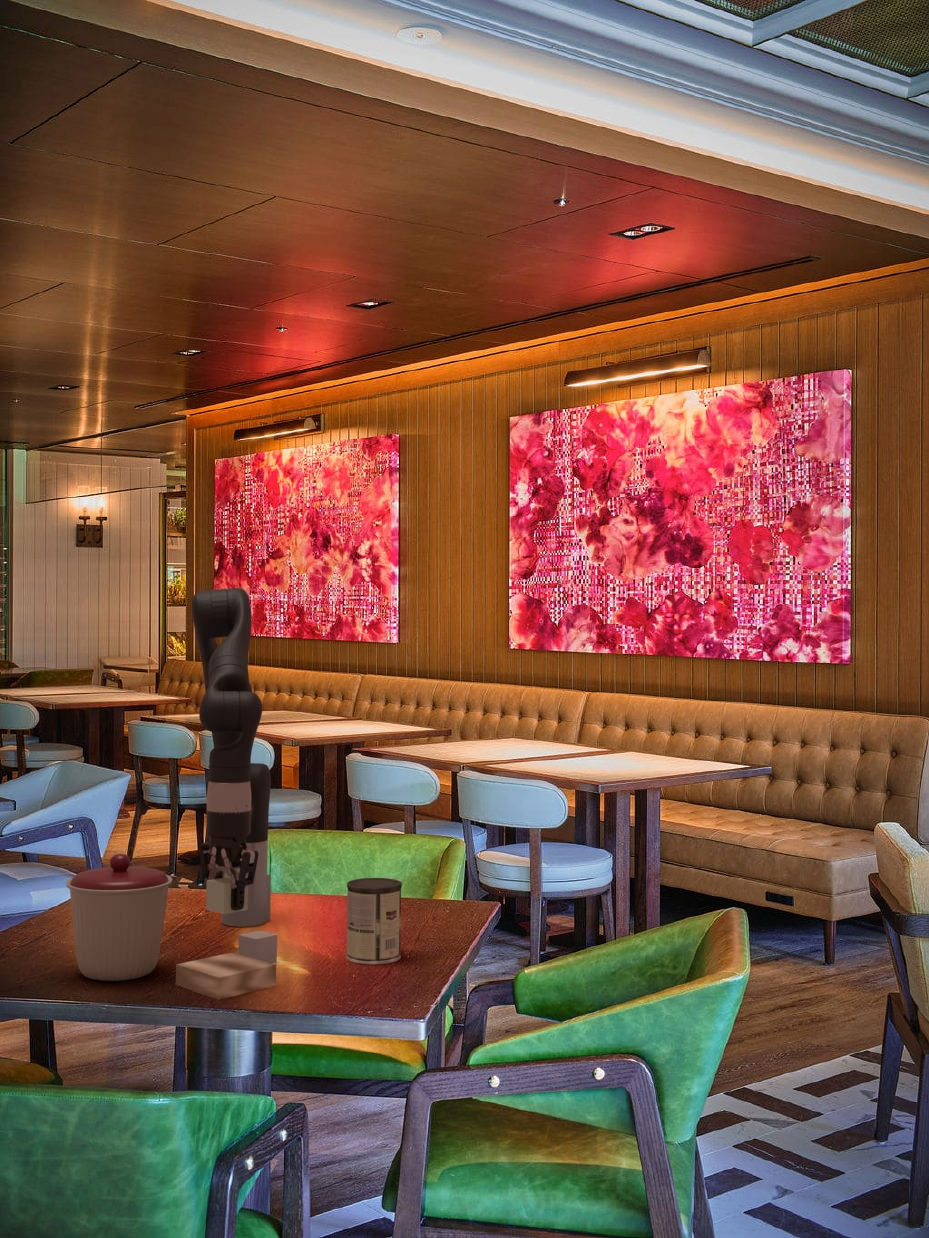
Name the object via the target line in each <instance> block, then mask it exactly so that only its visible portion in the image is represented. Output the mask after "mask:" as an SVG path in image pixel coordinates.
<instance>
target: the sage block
mask: <svg viewBox="0 0 929 1238" xmlns="http://www.w3.org/2000/svg"><path fill="white" fill-rule="evenodd" d="M237 880H238V878H237ZM205 887H206V889H205V891H206V894H205V897H206V899H205V904H206V905H205V910H206V911H210V912H213V913H218V914H221V915H222V914H228V913H233V912H239V911H245V910H248V886H246V887H245V893H244V907H243V909H241V910H236V911H234V910H232V909H231V888H232V886H231V881H230V877H225V878H219V879H212V880H208V879H207V880H206V886H205Z"/></svg>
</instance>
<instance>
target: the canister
mask: <svg viewBox="0 0 929 1238" xmlns="http://www.w3.org/2000/svg"><path fill="white" fill-rule="evenodd" d="M109 865H110V866H107V867H98V868H92V869H87V870H84V871H82V872H79V873H76V875H74V876H73V877H71V878H69V879H68V880H67V881H66V882H65V886H66V888H67V889H69V894H70V897H69V898H70V907H71V917H72V918H71V919H72V929H73V931H72V932H73V940H74V949H75V957H76V963H77V966H78V969H79V972H81V974H82V975H83V976H85V977H86V978H88V979H91V980H95V981H103V982H117V981H118V982H120V981H121V982H122V981H123V982H124V981H129V980H135V979H140V978H142V977H146V976H147V975H149V974H151V973H152V972H153V971H154V969H155V968H156V967H157V964H158V961H159V957H160V952H161V946H162V938H163V933H164V923H165V917H166V909H167V908H166V907H167V901H168V894H169V893H168V892H169V886H170V885H172V883H173V878H172V877H171V876H170V875H167V874H166V873H165V872H164V871H162V870H159V869H157V868H152V867H146V866H145V867H144V866H131V858H130V856H129V855H127V854H124V853H117V854H116V853H115V854H114V855H113V856H111V858H110V860H109Z"/></svg>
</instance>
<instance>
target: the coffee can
mask: <svg viewBox="0 0 929 1238" xmlns="http://www.w3.org/2000/svg"><path fill="white" fill-rule="evenodd" d="M402 886H403V883H402V881H400V880H399V879H398V880H397V879H394V878H388V877H387V878H385V877H364V878H355V879H351V880H349V881H347V883H346V887H347V891H346V893H347V894H346V895H347V896H346V897H347V900H346V901H347V904H346V905H347V908H346V914H347V915H346V918H347V919H346V921H347V922H346V960H347V961H348V962H351V963H352V964H353V963H355V964H359V965H360V964H361V965H371V966H372V965H373V966H374V965H387V964H393V963H396V962H398V961H399V960H401V958H402V957H401V936H402V935H401V932H402V931H401V928H402V927H401V923H402V921H401V920H402V917H401V916H402V888H403V887H402Z"/></svg>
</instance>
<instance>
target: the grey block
mask: <svg viewBox="0 0 929 1238" xmlns="http://www.w3.org/2000/svg"><path fill="white" fill-rule="evenodd" d="M237 945H238V946H237V947H238V949H237V954H240V955H244V956H248V957H251V958H255V959H258V960H262V961H265V962H269V963H272V964H274V963H277V961H278V958H277V957H278V934H276V933H272V932H267V931H264V930H256V931H255V930H254V931H250V932H245V933H239V934H238V944H237Z"/></svg>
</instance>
